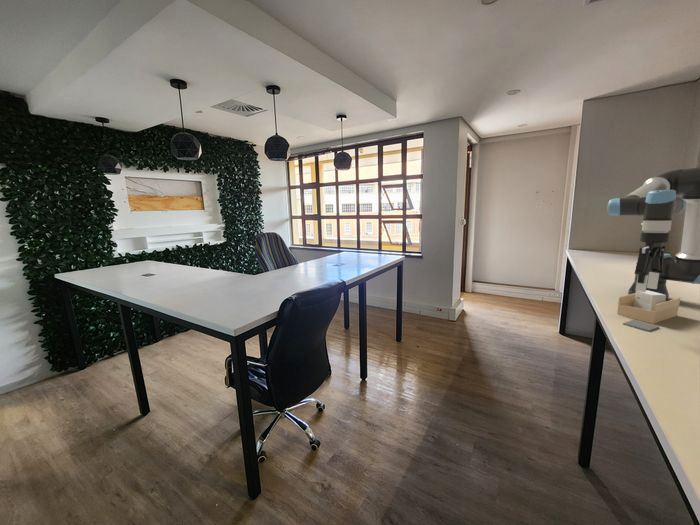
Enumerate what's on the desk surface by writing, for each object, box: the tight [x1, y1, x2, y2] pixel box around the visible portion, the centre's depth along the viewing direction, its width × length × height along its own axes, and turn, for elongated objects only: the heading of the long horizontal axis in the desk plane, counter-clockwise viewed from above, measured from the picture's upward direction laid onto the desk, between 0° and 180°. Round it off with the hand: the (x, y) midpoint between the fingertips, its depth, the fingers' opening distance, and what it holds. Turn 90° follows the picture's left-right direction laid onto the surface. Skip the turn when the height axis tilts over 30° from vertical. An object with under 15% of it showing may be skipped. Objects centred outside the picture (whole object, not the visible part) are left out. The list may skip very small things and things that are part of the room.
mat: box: [622, 319, 660, 333], centre depth 116 cm, size 8×8×1 cm
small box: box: [634, 290, 666, 312], centre depth 127 cm, size 8×6×10 cm
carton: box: [616, 293, 681, 325], centre depth 127 cm, size 21×12×8 cm, turn 114°
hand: (646, 289), depth 114 cm, fingers open, 8 cm apart
